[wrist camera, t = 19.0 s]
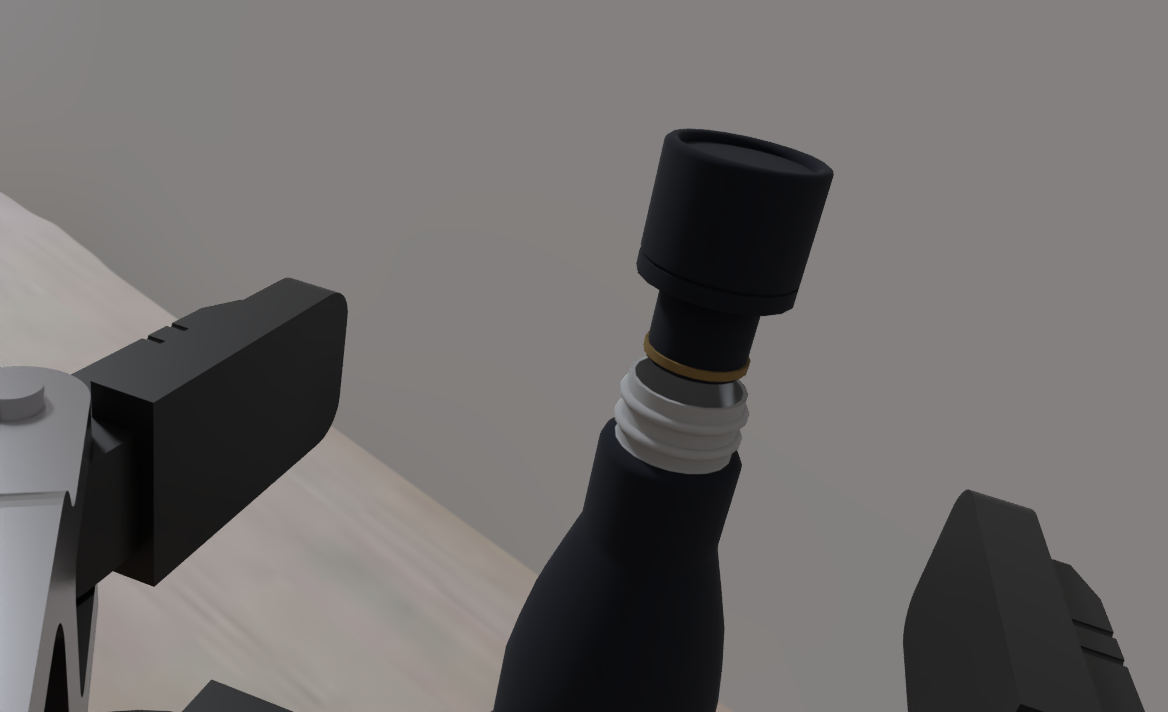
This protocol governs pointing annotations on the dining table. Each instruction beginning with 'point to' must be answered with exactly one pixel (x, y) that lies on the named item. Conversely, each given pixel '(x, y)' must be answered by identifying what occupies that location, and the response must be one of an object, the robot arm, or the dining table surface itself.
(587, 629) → the wine bottle
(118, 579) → the dining table surface
